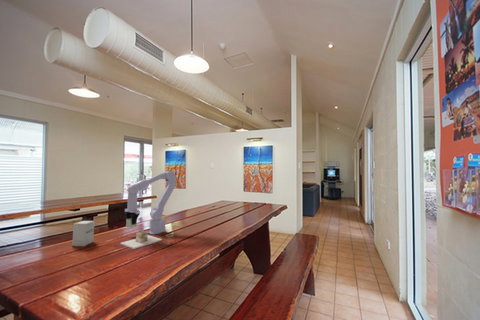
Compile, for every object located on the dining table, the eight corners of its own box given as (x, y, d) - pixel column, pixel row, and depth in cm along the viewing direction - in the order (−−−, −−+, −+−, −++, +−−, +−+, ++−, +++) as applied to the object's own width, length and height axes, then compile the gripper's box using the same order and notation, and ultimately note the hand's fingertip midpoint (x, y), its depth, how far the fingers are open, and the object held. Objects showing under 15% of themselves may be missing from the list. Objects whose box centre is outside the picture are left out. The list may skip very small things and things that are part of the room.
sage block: (132, 225, 141) (133, 217, 141) (136, 226, 139) (136, 218, 139) (126, 226, 137) (126, 218, 137) (129, 227, 135) (130, 219, 135)
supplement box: (84, 246, 118) (85, 223, 119) (71, 246, 118) (72, 223, 119) (93, 242, 126) (94, 220, 126) (81, 241, 126) (82, 220, 126)
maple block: (142, 239, 129) (143, 230, 129) (147, 240, 126) (147, 232, 127) (135, 241, 125) (136, 232, 125) (140, 242, 123) (140, 233, 123)
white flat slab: (148, 236, 137) (148, 235, 137) (161, 240, 130) (162, 239, 130) (120, 244, 122) (120, 242, 122) (133, 249, 114) (133, 247, 115)
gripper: (120, 202, 139) (119, 223, 139) (132, 204, 131) (131, 226, 131) (130, 201, 145) (130, 221, 145) (143, 203, 137) (142, 224, 137)
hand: (131, 223), depth 138 cm, fingers closed on sage block, 4 cm apart
